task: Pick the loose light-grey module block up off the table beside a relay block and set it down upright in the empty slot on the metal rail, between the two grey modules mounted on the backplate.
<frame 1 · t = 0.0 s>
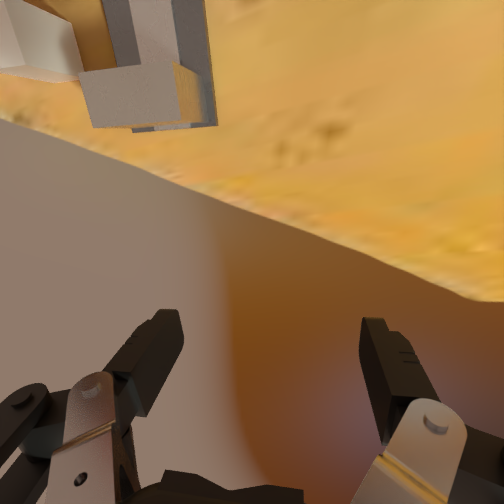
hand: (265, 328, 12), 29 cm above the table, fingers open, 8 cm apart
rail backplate: (157, 19, 32), on the table
module: (62, 54, 35), on the table
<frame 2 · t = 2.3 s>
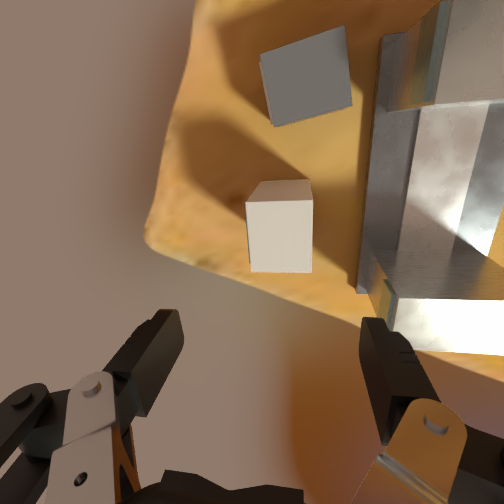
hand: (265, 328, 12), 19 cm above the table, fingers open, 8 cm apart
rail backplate: (431, 184, 26), on the table
module: (285, 208, 29), on the table
relay block: (305, 88, 24), on the table
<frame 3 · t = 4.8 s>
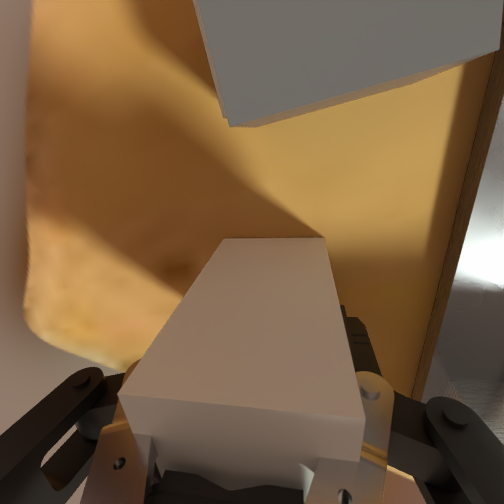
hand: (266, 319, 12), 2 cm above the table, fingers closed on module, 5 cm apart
module: (274, 289, 15), on the table, touching gripper
relay block: (319, 32, 10), on the table
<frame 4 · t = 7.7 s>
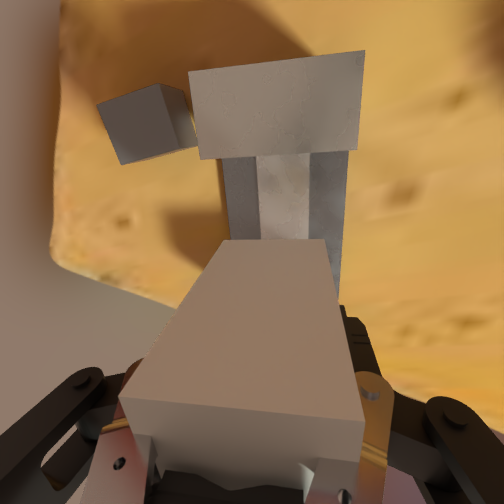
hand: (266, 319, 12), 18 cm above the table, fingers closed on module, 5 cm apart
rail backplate: (284, 210, 29), on the table
module: (274, 290, 15), point 16 cm above the table, touching gripper
relay block: (164, 127, 27), on the table
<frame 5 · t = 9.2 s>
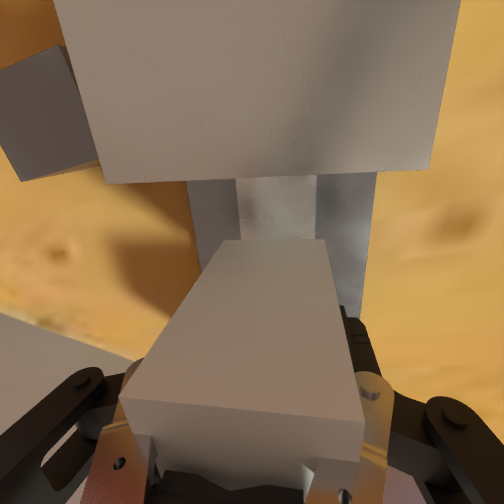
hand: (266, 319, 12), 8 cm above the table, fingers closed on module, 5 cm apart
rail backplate: (278, 244, 20), on the table
module: (274, 290, 15), point 6 cm above the table, touching gripper
relay block: (101, 122, 18), on the table
when the fingers open (6 cm above the table, at t = 10.7 s): module drops 2 cm, resting on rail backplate.
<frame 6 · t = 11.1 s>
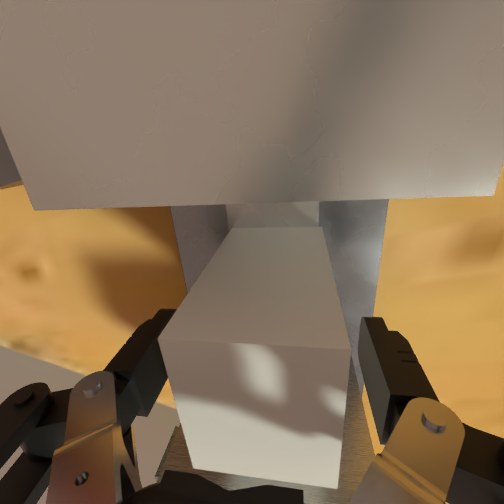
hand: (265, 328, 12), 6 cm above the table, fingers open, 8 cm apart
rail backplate: (275, 263, 17), on the table
module: (277, 274, 16), point 1 cm above the table, touching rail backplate
relay block: (70, 125, 16), on the table
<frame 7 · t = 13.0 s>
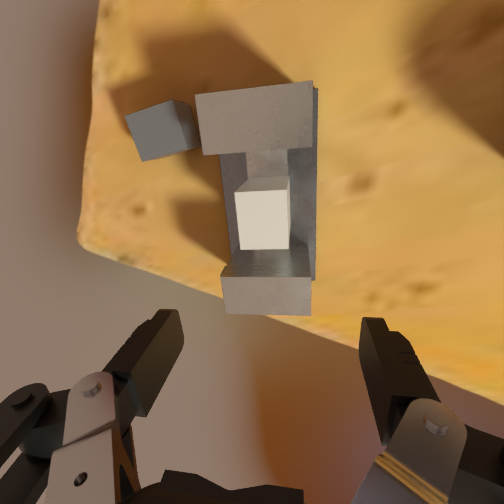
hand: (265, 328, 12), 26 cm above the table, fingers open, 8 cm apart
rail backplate: (269, 198, 36), on the table
module: (270, 200, 35), point 1 cm above the table, touching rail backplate
relay block: (174, 132, 35), on the table
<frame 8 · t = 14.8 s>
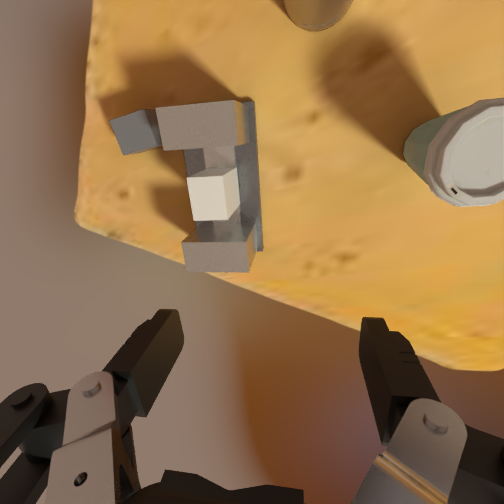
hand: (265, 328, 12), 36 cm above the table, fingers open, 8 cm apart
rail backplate: (224, 184, 46), on the table
module: (223, 186, 45), point 1 cm above the table, touching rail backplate
relay block: (149, 132, 45), on the table
disposable coffee cup: (427, 147, 39), on the table
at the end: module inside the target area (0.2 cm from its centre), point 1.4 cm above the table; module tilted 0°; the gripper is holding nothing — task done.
